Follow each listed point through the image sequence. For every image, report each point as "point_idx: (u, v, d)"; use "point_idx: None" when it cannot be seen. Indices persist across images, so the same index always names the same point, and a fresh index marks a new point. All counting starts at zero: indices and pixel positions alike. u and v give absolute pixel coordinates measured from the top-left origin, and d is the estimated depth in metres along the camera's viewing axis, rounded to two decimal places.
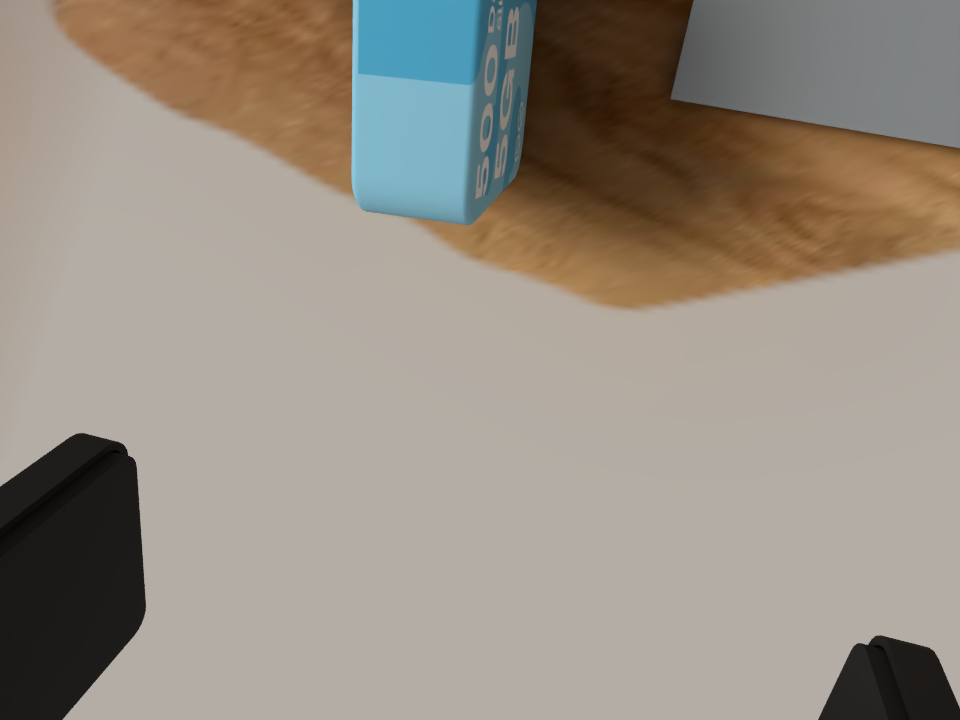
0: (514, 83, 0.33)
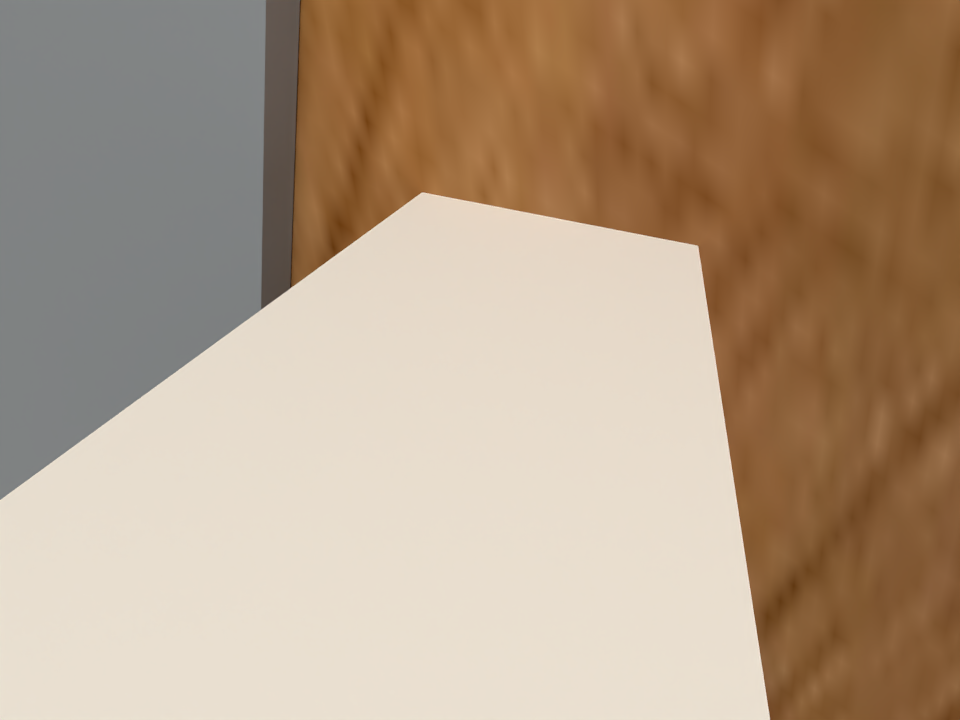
0: None
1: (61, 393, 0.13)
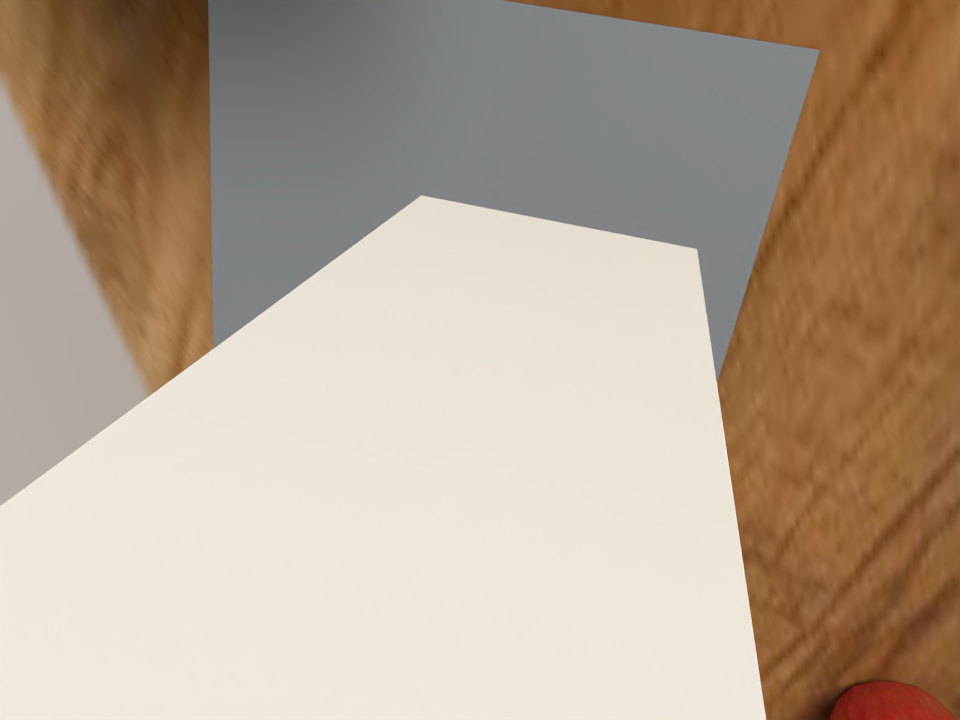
0: None
1: None
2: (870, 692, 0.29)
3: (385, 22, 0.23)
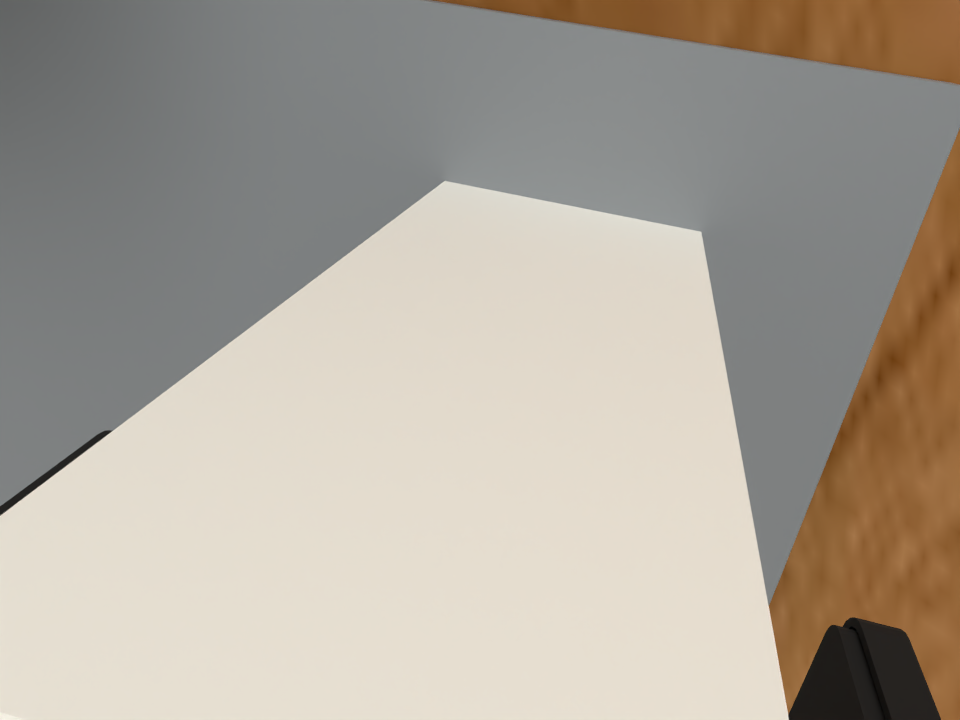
0: None
1: None
2: None
3: (129, 29, 0.12)
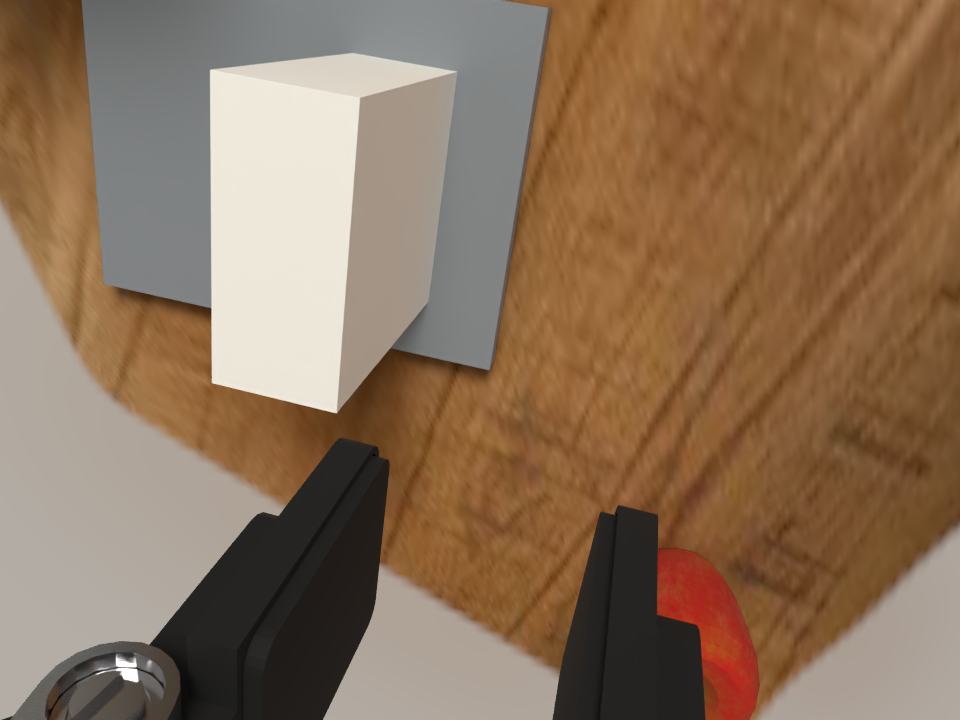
0: None
1: None
2: None
3: None
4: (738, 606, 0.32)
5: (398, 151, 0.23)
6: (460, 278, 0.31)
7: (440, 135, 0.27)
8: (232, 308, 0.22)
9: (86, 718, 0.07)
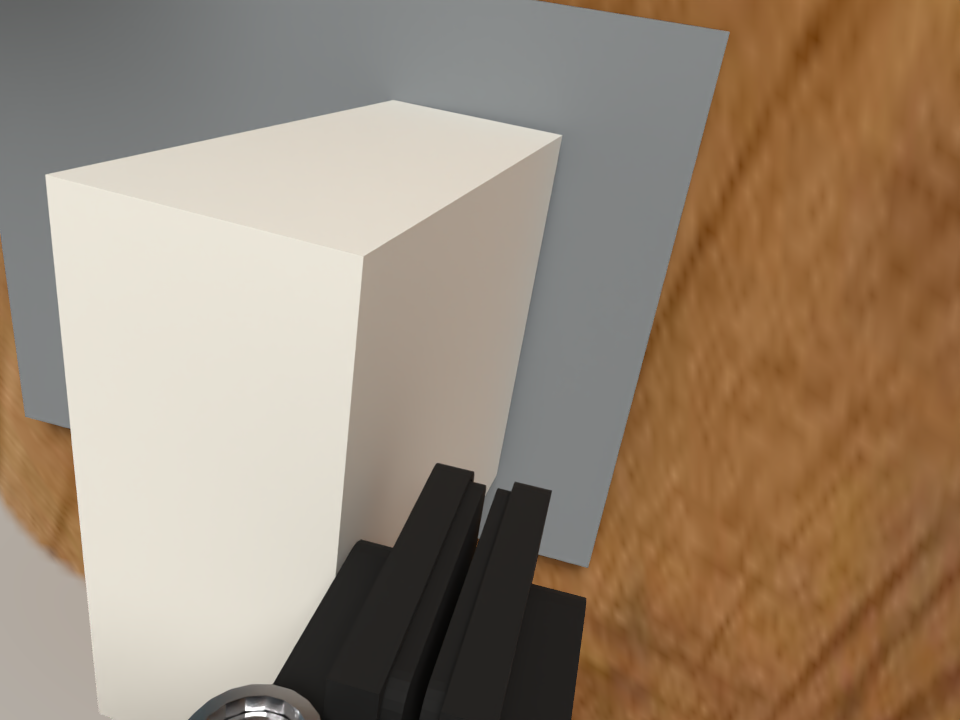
0: None
1: None
2: None
3: None
4: None
5: (454, 307, 0.12)
6: (551, 439, 0.20)
7: (530, 242, 0.16)
8: (123, 609, 0.11)
9: None
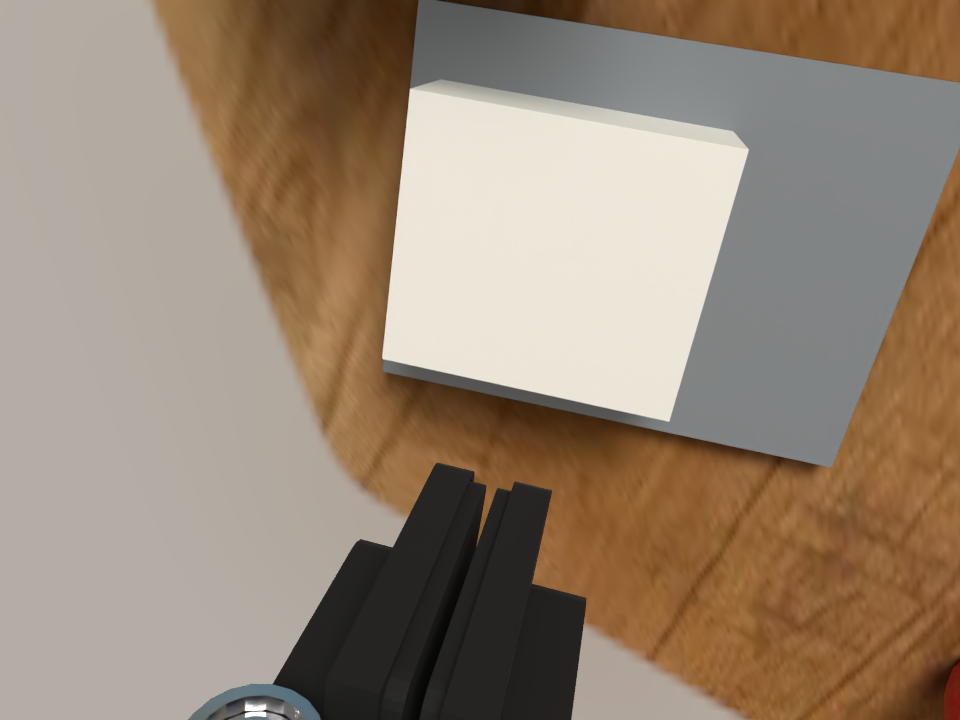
0: None
1: (787, 299, 0.27)
2: None
3: (583, 59, 0.25)
4: None
5: (519, 173, 0.23)
6: (816, 371, 0.28)
7: (681, 212, 0.23)
8: None
9: None
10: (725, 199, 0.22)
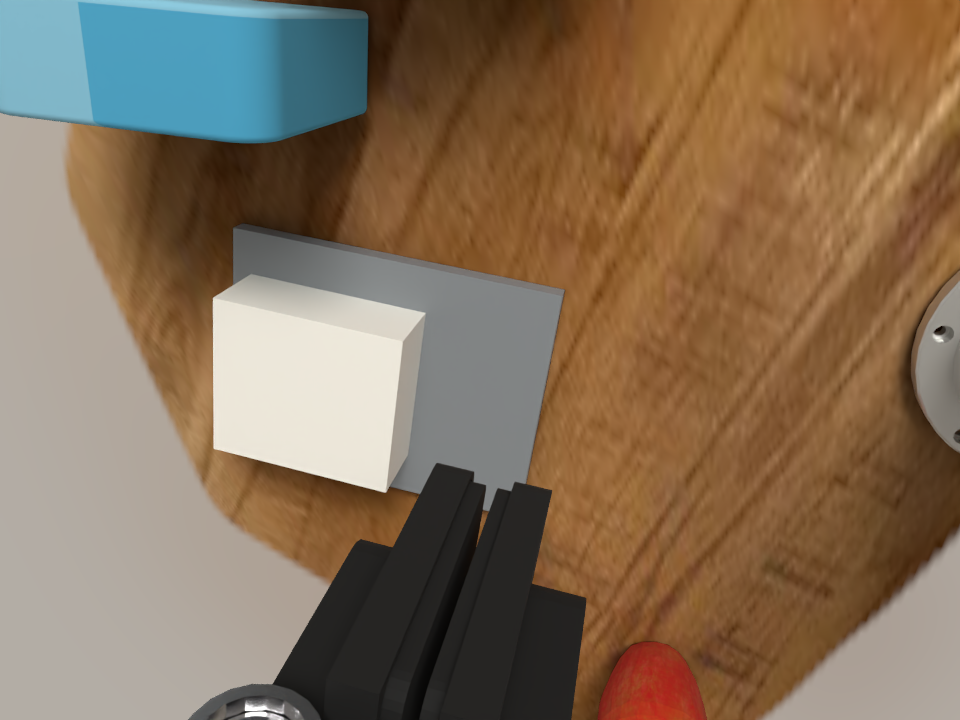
0: None
1: (473, 412, 0.43)
2: (637, 648, 0.47)
3: (333, 267, 0.41)
4: (697, 689, 0.45)
5: (279, 347, 0.39)
6: (498, 457, 0.43)
7: (372, 373, 0.38)
8: None
9: None
10: (395, 367, 0.38)
